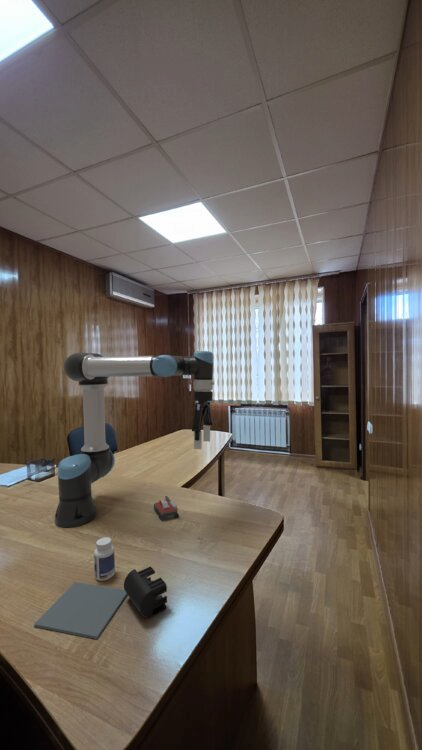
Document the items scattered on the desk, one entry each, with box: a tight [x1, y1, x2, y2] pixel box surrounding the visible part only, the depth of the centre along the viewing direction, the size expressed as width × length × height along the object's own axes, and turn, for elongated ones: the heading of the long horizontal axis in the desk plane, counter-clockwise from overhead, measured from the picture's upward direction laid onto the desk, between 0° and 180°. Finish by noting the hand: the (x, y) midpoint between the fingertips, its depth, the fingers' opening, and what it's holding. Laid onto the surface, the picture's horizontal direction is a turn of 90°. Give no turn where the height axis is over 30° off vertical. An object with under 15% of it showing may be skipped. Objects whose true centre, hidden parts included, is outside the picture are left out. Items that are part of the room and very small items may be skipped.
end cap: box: [123, 566, 168, 619], centre depth 76 cm, size 10×7×7 cm
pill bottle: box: [93, 536, 116, 582], centre depth 87 cm, size 5×5×10 cm
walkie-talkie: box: [153, 495, 180, 522], centre depth 127 cm, size 9×4×20 cm
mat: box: [33, 581, 128, 640], centre depth 75 cm, size 16×14×1 cm
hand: (202, 444), depth 122 cm, fingers open, 13 cm apart
